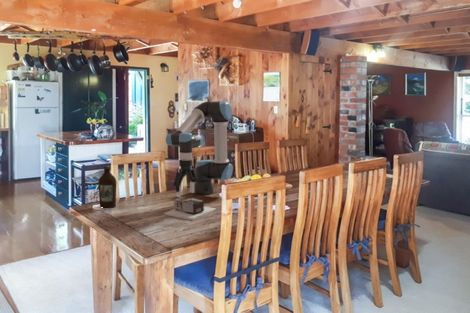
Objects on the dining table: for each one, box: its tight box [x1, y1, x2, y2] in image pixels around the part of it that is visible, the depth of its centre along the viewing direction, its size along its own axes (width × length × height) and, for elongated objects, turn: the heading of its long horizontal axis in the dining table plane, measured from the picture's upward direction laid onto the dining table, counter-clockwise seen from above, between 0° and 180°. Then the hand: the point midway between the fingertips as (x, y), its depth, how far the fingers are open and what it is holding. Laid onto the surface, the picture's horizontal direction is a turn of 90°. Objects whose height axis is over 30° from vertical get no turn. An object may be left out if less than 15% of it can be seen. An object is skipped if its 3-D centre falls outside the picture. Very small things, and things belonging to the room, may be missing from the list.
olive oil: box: [97, 165, 117, 209], centre depth 258 cm, size 11×11×25 cm
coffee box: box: [173, 196, 205, 215], centre depth 250 cm, size 9×6×16 cm
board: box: [164, 206, 217, 221], centre depth 251 cm, size 24×20×1 cm
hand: (185, 194), depth 251 cm, fingers open, 13 cm apart
